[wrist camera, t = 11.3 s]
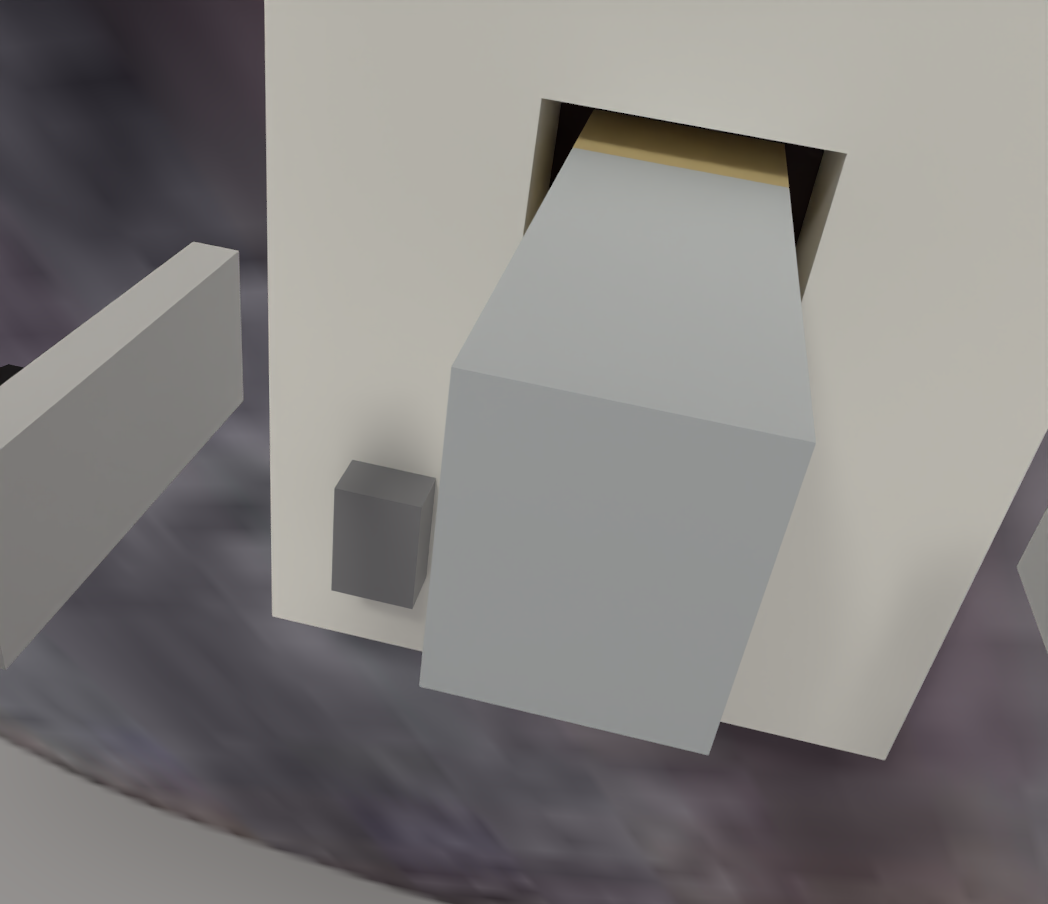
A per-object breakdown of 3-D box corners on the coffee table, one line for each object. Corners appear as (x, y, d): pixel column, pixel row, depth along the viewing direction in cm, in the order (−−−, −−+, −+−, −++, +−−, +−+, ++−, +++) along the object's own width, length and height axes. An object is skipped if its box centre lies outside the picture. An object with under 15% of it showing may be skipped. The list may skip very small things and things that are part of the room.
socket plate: (331, -469, 17) (221, -546, 13) (1326, -337, 15) (1495, -384, 12) (313, 547, 29) (253, 647, 25) (872, 674, 27) (890, 799, 24)
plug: (593, 109, 21) (451, 367, 11) (784, 143, 21) (816, 442, 11) (558, 323, 24) (419, 686, 14) (726, 357, 23) (708, 755, 13)
